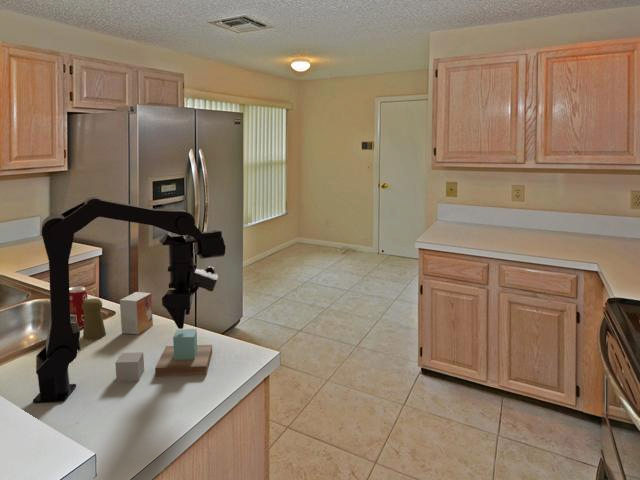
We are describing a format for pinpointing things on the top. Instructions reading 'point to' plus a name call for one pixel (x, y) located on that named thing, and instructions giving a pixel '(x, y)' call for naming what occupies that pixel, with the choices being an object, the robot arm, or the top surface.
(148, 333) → the top surface
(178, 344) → the teal block
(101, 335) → the cork
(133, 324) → the small box
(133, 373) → the grey block
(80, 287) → the soda can
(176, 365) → the walnut block
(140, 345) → the top surface
